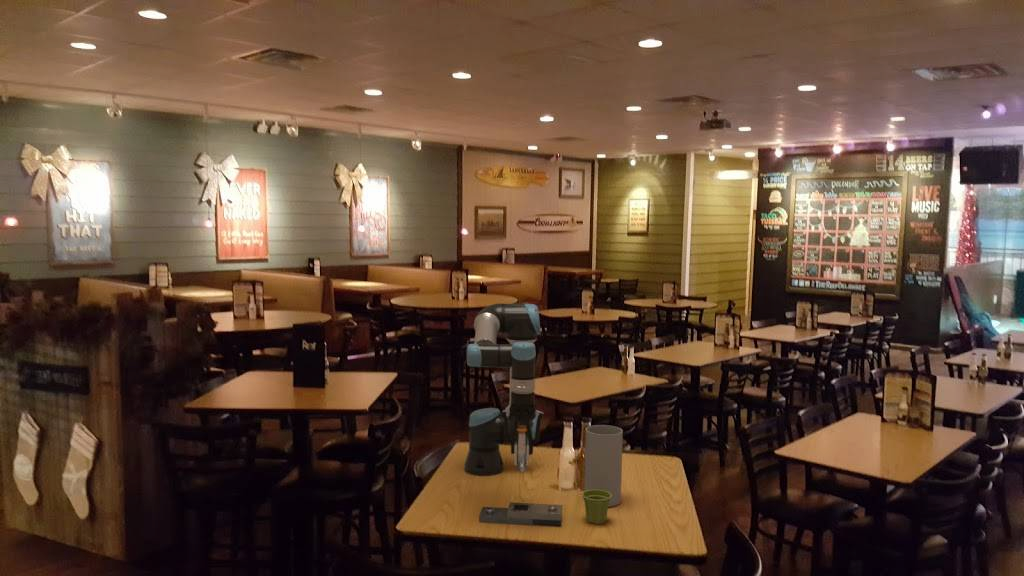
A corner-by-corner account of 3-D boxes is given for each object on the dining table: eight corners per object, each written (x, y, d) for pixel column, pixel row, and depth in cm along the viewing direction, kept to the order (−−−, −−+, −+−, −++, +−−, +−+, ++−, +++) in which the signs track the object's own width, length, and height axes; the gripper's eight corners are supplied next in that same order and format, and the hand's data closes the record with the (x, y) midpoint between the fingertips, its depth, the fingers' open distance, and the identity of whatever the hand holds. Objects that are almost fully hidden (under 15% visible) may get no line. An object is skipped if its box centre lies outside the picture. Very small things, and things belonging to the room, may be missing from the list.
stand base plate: (478, 522, 234) (479, 507, 234) (482, 512, 242) (482, 498, 242) (560, 526, 232) (561, 511, 231) (562, 517, 239) (562, 502, 239)
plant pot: (587, 527, 231) (588, 500, 230) (577, 516, 240) (577, 490, 239) (615, 525, 234) (616, 498, 233) (604, 514, 243) (604, 488, 242)
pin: (512, 469, 236) (513, 426, 235) (523, 467, 238) (524, 424, 237) (520, 473, 233) (520, 429, 232) (530, 470, 235) (531, 427, 234)
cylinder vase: (593, 492, 263) (595, 423, 261) (626, 499, 256) (628, 428, 254) (578, 503, 252) (579, 431, 250) (612, 510, 245) (613, 437, 244)
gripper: (495, 393, 231) (495, 466, 233) (547, 394, 229) (546, 468, 231) (498, 388, 238) (498, 459, 240) (549, 389, 237) (547, 461, 238)
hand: (521, 463), depth 235 cm, fingers closed on pin, 3 cm apart
